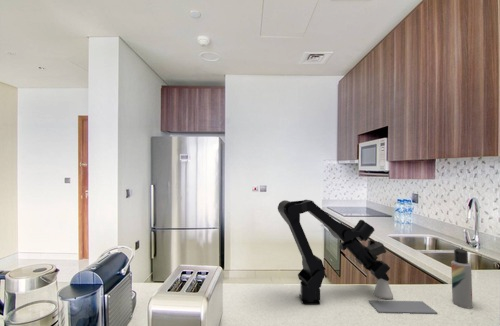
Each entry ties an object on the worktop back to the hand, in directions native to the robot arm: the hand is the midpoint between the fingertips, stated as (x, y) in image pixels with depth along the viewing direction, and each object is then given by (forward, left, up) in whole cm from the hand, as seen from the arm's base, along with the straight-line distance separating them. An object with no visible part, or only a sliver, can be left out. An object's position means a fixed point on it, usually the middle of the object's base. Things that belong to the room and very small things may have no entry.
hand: (386, 278), depth 100 cm
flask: (-1, 0, -7) cm, 7 cm away
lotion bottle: (+25, -6, -7) cm, 26 cm away
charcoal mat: (+1, -9, -7) cm, 11 cm away
